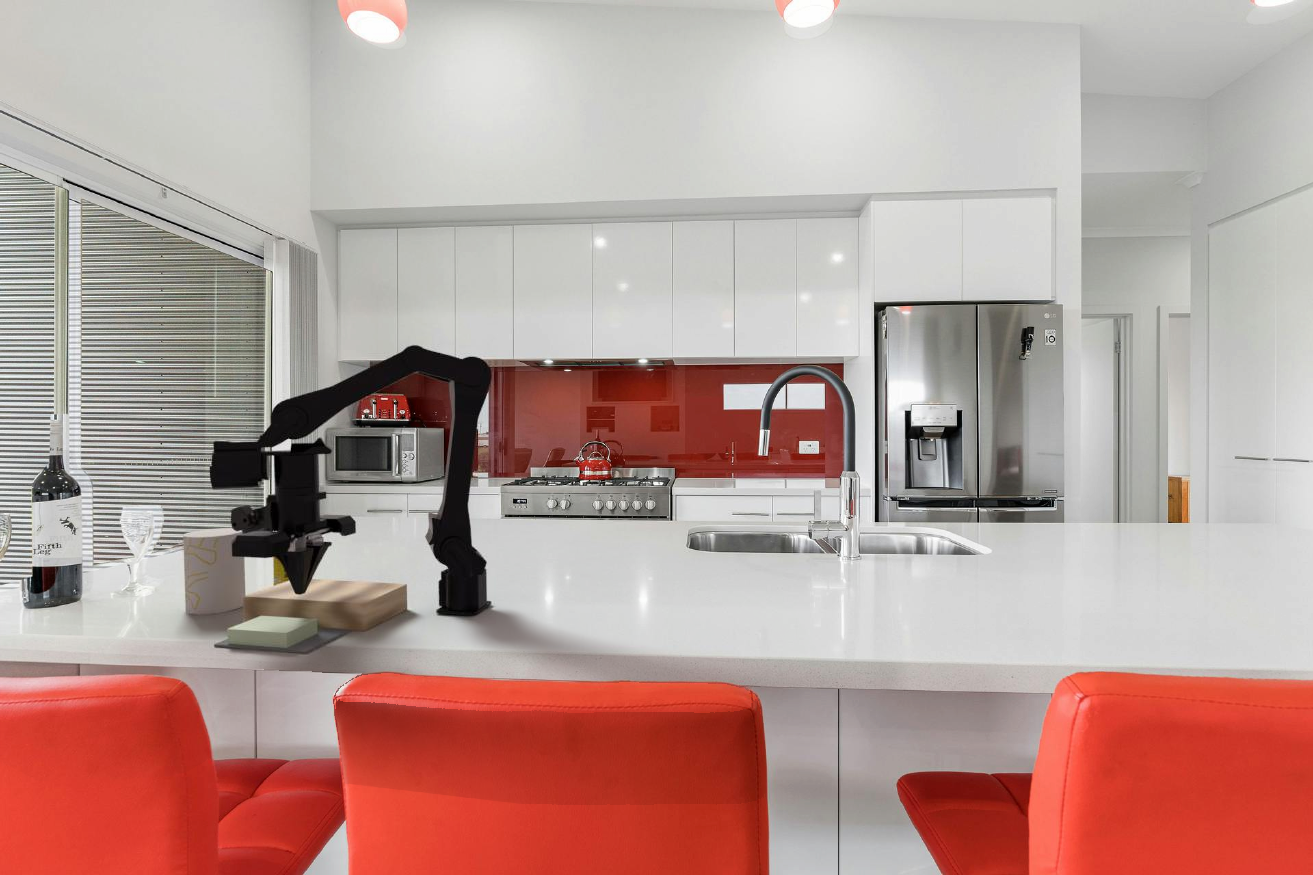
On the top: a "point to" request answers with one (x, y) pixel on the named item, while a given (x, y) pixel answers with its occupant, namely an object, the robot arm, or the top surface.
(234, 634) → the pale green foam block
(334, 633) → the mat
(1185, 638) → the top surface
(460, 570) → the robot arm
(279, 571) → the supplement bottle
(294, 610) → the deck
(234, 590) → the cup
